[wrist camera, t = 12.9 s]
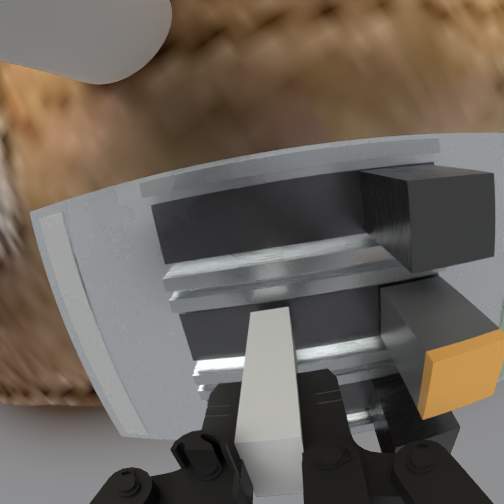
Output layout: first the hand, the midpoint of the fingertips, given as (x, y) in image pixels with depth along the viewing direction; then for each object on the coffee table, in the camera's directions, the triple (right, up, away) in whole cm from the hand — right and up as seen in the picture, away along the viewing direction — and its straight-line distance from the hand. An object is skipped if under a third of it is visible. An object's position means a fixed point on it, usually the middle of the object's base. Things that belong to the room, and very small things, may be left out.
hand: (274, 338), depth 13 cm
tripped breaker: (+6, +1, +1) cm, 6 cm away
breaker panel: (+2, +1, +3) cm, 4 cm away
